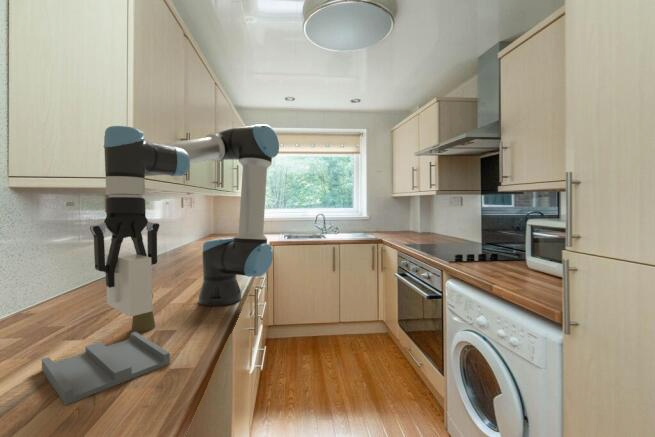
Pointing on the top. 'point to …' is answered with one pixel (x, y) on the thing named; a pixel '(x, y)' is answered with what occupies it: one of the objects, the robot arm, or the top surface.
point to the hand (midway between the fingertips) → (128, 297)
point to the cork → (143, 322)
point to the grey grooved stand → (103, 367)
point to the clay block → (133, 284)
